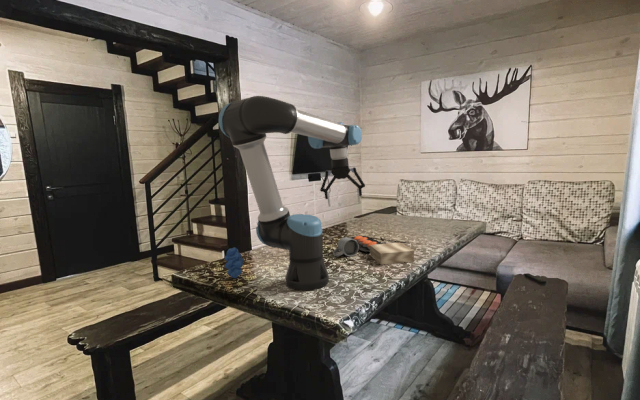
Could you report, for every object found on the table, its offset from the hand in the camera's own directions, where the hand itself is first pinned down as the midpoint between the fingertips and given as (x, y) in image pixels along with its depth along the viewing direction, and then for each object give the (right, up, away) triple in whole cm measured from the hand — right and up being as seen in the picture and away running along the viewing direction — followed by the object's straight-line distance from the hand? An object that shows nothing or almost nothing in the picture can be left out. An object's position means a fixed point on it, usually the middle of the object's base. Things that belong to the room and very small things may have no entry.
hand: (344, 204), depth 152 cm
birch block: (+19, -23, -12) cm, 32 cm away
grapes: (-42, -27, -28) cm, 57 cm away
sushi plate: (+19, -20, +13) cm, 31 cm away
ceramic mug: (0, -23, -4) cm, 23 cm away
